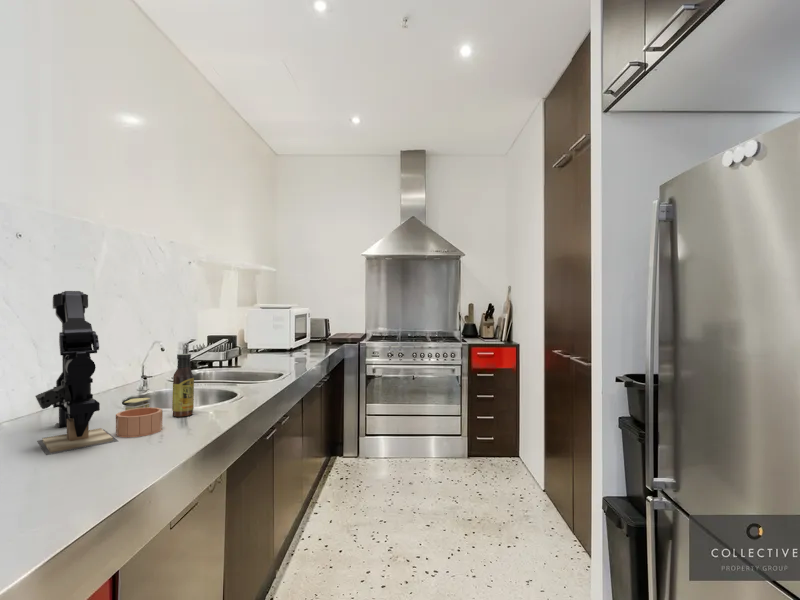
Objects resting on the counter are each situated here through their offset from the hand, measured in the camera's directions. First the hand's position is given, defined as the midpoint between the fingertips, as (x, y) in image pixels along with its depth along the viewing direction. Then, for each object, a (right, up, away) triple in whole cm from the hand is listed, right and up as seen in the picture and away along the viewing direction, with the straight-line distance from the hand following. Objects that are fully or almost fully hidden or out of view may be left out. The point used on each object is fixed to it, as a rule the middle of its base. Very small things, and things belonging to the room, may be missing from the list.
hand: (77, 434), depth 117 cm
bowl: (+11, -2, +9) cm, 14 cm away
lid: (0, -2, 0) cm, 2 cm away
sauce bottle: (+14, -2, +28) cm, 32 cm away
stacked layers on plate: (-1, -3, +28) cm, 28 cm away
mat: (0, -2, 0) cm, 2 cm away
